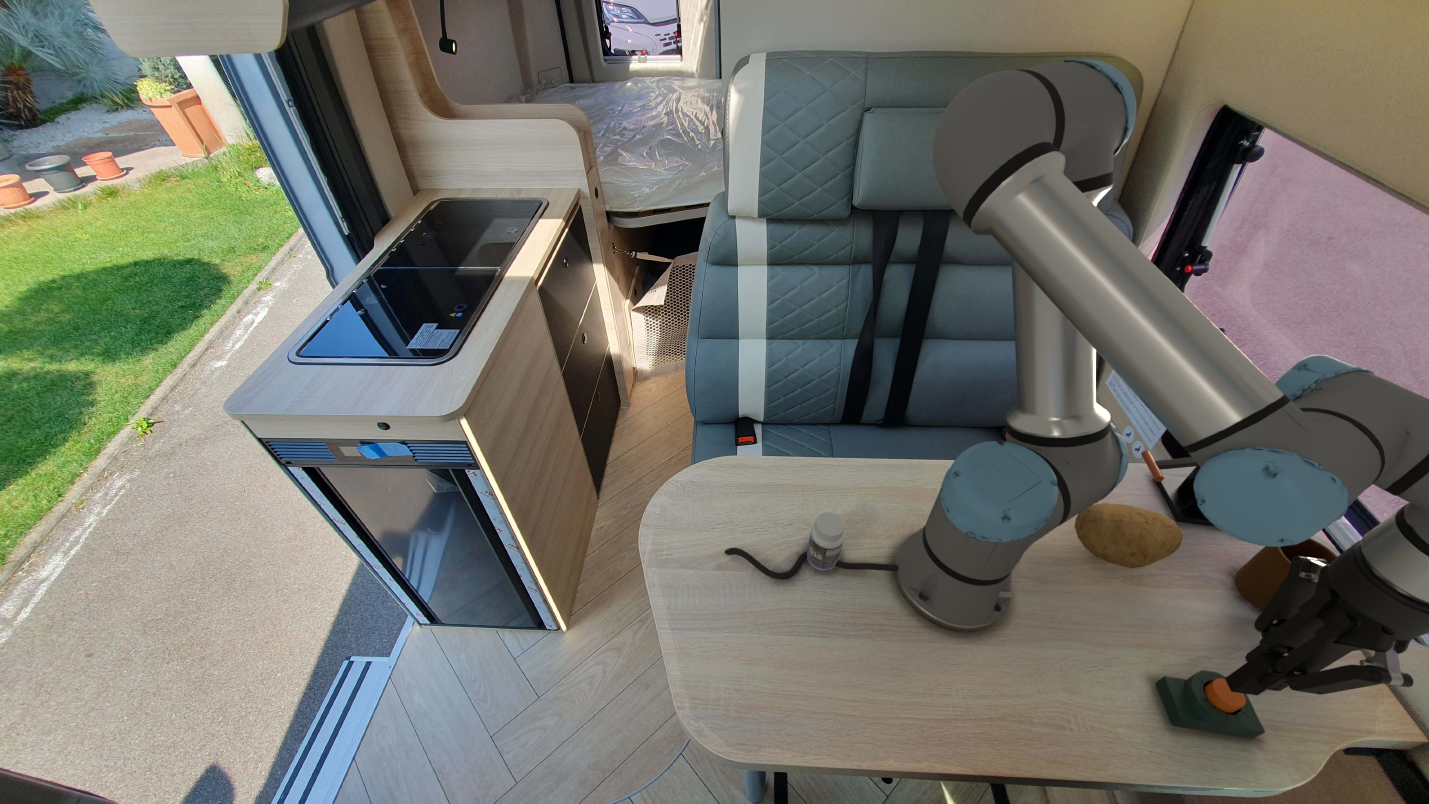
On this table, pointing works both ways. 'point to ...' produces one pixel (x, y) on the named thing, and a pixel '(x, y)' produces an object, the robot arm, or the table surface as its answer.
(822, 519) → the pill bottle
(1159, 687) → the button block
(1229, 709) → the button
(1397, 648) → the robot arm
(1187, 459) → the lever
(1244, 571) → the mug
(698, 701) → the table surface
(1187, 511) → the bracket
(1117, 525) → the potato
